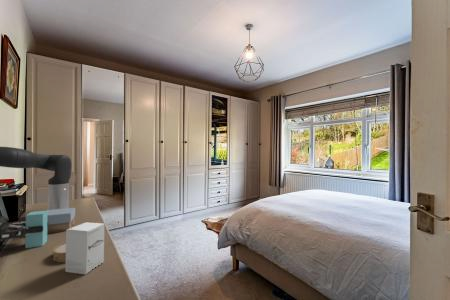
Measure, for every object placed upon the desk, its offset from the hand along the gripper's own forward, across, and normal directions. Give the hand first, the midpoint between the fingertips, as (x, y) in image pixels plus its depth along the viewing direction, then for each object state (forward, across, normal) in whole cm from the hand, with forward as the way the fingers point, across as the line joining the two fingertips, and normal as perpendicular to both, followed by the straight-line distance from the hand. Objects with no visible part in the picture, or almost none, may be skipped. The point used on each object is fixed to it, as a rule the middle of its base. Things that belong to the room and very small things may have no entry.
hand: (45, 226), depth 84 cm
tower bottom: (0, +18, +7) cm, 20 cm away
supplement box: (+17, -26, +7) cm, 32 cm away
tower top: (0, +18, +3) cm, 18 cm away
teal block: (-3, 0, +6) cm, 7 cm away
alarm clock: (+14, -14, +7) cm, 21 cm away
